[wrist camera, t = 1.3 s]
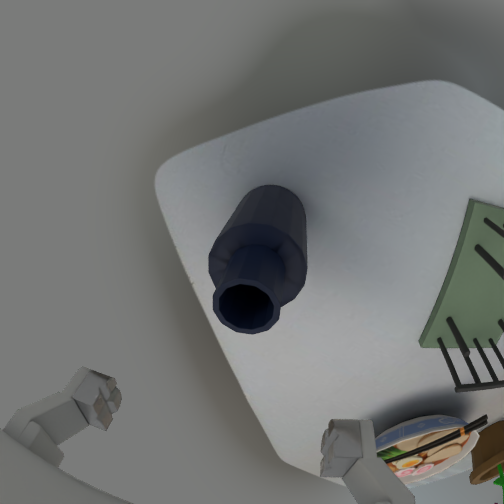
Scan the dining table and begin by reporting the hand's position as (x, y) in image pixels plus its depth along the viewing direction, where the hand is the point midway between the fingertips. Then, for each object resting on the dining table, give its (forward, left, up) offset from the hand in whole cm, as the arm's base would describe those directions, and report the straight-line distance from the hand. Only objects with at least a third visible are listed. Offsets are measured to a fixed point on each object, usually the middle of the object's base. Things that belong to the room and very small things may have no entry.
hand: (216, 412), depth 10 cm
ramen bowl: (+34, +28, -21) cm, 49 cm away
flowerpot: (+41, +54, -21) cm, 71 cm away
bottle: (0, 0, -20) cm, 20 cm away
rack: (+4, +26, -20) cm, 33 cm away
